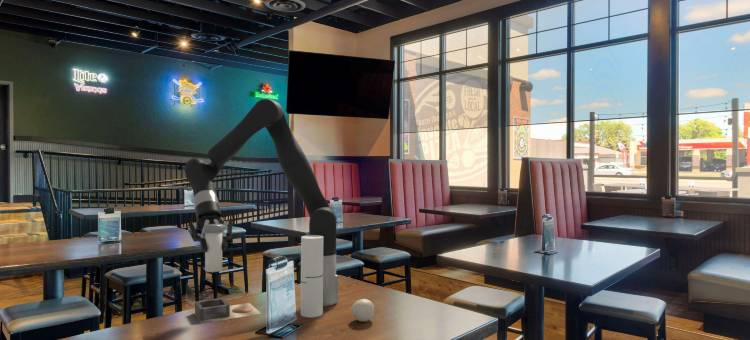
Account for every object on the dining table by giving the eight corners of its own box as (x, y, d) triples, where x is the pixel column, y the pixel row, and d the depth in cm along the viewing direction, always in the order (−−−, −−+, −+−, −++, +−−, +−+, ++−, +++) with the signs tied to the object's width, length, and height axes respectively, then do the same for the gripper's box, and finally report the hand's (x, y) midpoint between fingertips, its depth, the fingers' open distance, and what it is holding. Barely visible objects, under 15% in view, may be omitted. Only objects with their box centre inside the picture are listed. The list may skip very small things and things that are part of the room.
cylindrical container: (318, 318, 145) (319, 238, 145) (297, 316, 146) (297, 238, 146) (325, 311, 152) (326, 235, 152) (305, 309, 153) (305, 234, 153)
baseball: (350, 317, 146) (350, 296, 146) (373, 317, 147) (373, 296, 147) (351, 325, 139) (351, 302, 139) (375, 324, 140) (375, 302, 140)
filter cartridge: (220, 267, 146) (220, 223, 146) (224, 270, 142) (224, 225, 142) (202, 269, 144) (203, 224, 143) (206, 272, 139) (206, 226, 139)
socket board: (249, 307, 155) (249, 292, 155) (261, 318, 144) (261, 302, 144) (192, 315, 146) (192, 300, 146) (200, 328, 135) (200, 311, 135)
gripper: (185, 200, 145) (192, 244, 135) (231, 199, 153) (241, 240, 142) (182, 215, 150) (188, 259, 140) (227, 213, 157) (236, 254, 147)
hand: (215, 249), depth 141 cm, fingers closed on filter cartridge, 5 cm apart
